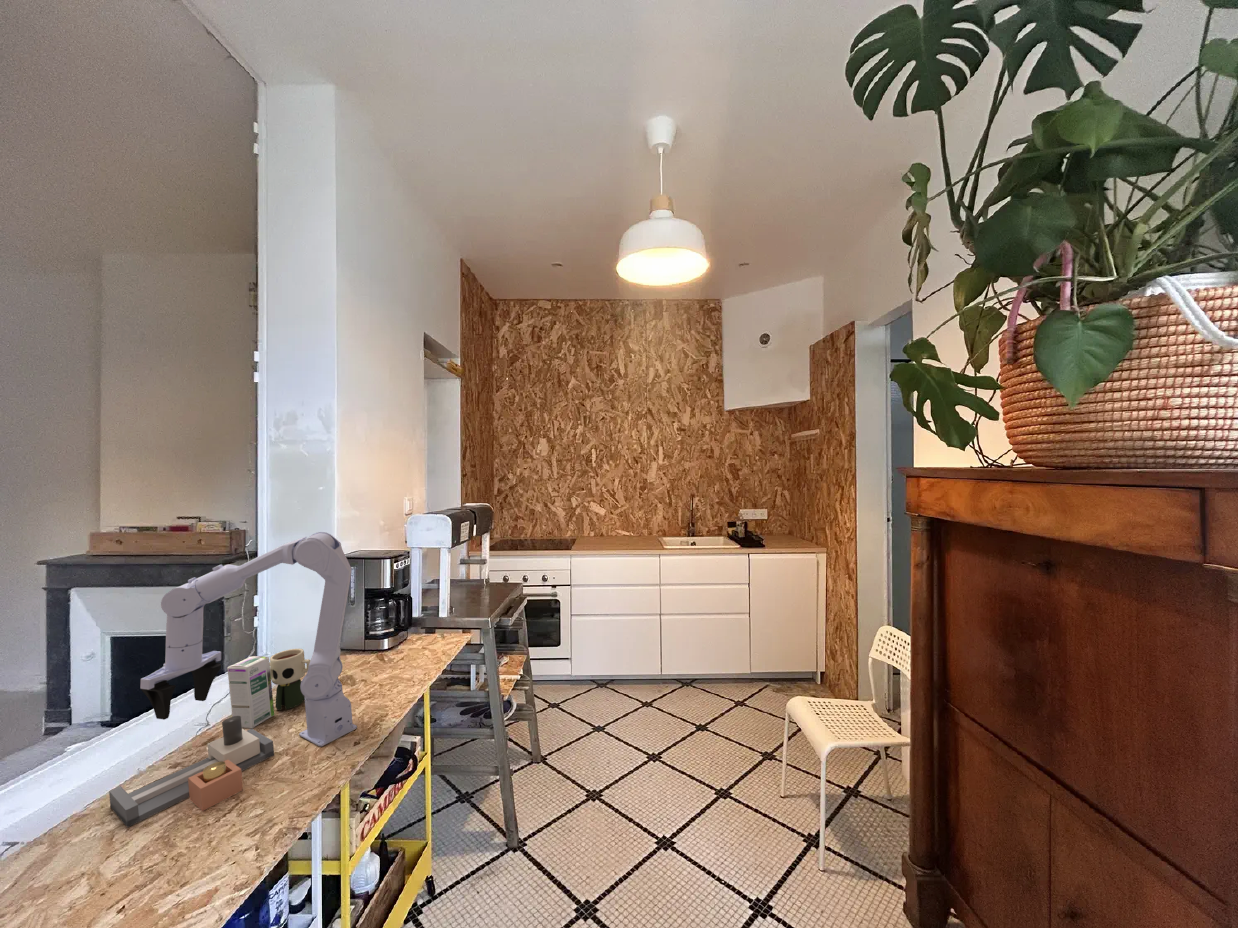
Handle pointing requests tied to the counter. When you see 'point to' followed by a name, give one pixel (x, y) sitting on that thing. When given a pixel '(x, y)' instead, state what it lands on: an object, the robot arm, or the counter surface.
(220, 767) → the button
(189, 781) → the box
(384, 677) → the counter surface
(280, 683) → the character mug
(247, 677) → the syrup box
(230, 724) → the carriage
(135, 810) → the rail
